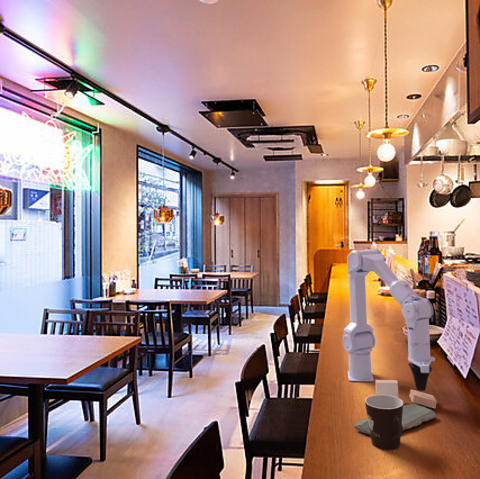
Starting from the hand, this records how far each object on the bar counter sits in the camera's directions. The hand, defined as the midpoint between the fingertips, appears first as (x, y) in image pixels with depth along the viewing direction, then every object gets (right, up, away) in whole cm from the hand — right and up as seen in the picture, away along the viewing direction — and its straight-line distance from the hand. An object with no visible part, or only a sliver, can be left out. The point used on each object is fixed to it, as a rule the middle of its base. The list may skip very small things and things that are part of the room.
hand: (420, 390), depth 125 cm
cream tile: (-8, -5, +4) cm, 10 cm away
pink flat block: (+1, -2, +2) cm, 3 cm away
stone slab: (-11, -5, -11) cm, 16 cm away
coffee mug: (-17, -6, -22) cm, 29 cm away
